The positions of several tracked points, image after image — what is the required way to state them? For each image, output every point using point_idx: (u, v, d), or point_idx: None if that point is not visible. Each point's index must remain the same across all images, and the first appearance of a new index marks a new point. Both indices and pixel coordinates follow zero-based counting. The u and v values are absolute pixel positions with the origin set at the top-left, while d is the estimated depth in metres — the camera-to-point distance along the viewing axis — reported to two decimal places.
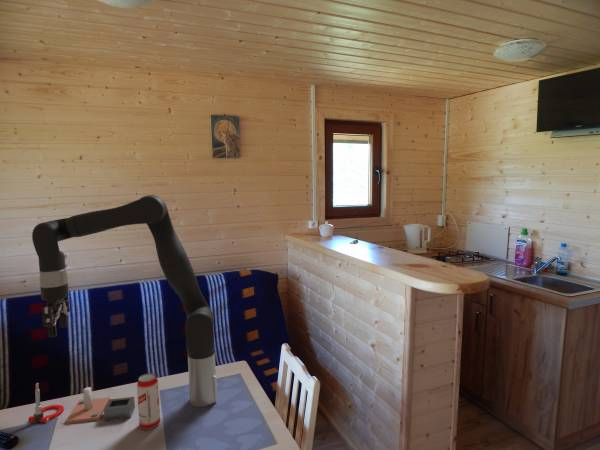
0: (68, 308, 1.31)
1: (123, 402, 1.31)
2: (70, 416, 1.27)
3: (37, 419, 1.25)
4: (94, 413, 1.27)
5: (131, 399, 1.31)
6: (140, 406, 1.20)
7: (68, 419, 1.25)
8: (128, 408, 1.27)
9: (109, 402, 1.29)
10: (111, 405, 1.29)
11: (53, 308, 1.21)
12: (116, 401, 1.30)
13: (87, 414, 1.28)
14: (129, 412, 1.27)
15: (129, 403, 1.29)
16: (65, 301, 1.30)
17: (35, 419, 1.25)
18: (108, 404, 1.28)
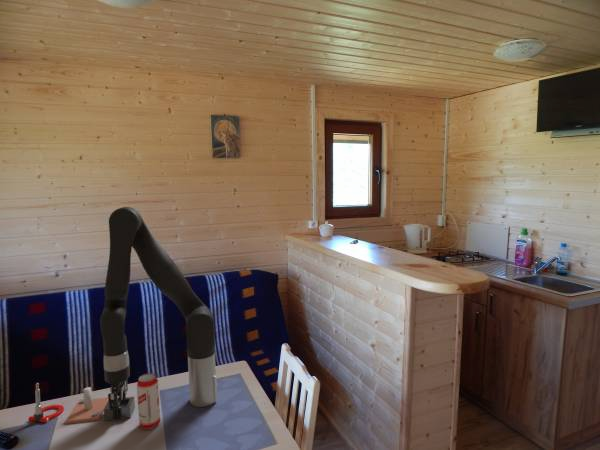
0: (126, 387, 1.34)
1: (123, 402, 1.31)
2: (70, 416, 1.27)
3: (37, 419, 1.25)
4: (94, 413, 1.27)
5: (131, 399, 1.31)
6: (140, 406, 1.20)
7: (68, 419, 1.25)
8: (128, 408, 1.27)
9: None
10: None
11: (117, 391, 1.25)
12: None
13: (87, 414, 1.28)
14: (129, 412, 1.27)
15: (129, 403, 1.29)
16: (124, 380, 1.34)
17: (35, 419, 1.25)
18: (108, 404, 1.28)
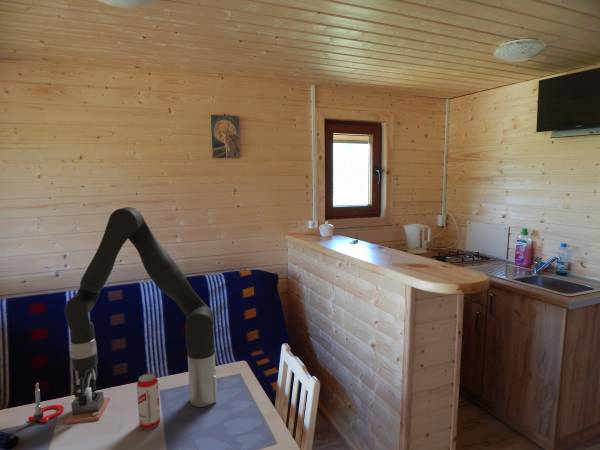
0: (96, 373, 1.36)
1: (92, 397, 1.33)
2: (70, 416, 1.27)
3: (37, 419, 1.25)
4: (94, 413, 1.27)
5: (100, 394, 1.33)
6: (140, 406, 1.20)
7: (68, 419, 1.25)
8: (95, 402, 1.28)
9: (78, 397, 1.31)
10: None
11: (84, 378, 1.26)
12: None
13: (87, 414, 1.28)
14: (97, 406, 1.29)
15: (97, 397, 1.31)
16: (93, 366, 1.35)
17: (35, 419, 1.25)
18: (76, 398, 1.30)
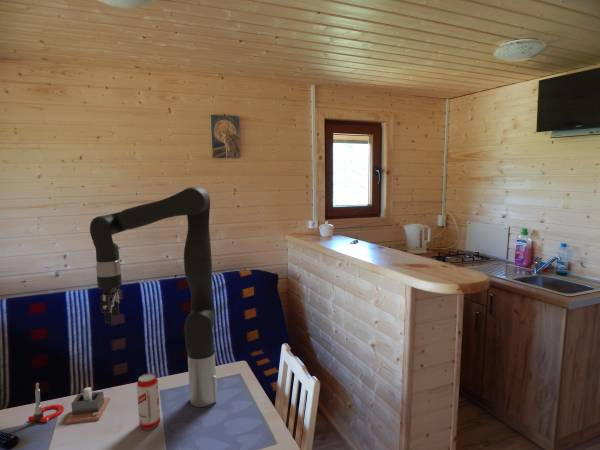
0: (119, 297, 1.40)
1: (92, 397, 1.33)
2: (70, 416, 1.27)
3: (37, 419, 1.25)
4: (94, 413, 1.27)
5: (100, 394, 1.33)
6: (140, 406, 1.20)
7: (68, 419, 1.25)
8: (95, 402, 1.28)
9: (78, 397, 1.31)
10: (80, 400, 1.31)
11: (109, 296, 1.30)
12: None
13: (87, 414, 1.28)
14: (97, 406, 1.29)
15: (97, 397, 1.31)
16: (117, 290, 1.39)
17: (35, 419, 1.25)
18: (76, 398, 1.30)
